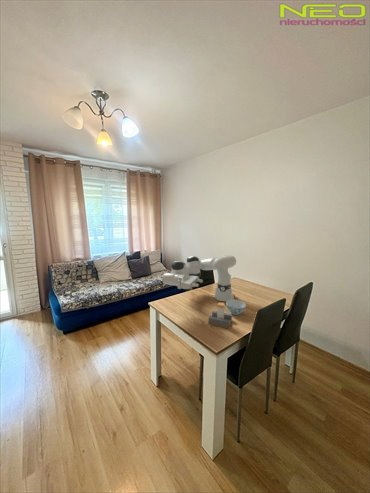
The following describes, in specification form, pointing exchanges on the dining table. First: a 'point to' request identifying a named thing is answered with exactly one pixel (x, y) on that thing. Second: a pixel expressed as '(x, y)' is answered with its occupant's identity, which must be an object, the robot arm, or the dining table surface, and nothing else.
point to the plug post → (220, 310)
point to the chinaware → (236, 306)
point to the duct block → (220, 320)
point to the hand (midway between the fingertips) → (200, 283)
